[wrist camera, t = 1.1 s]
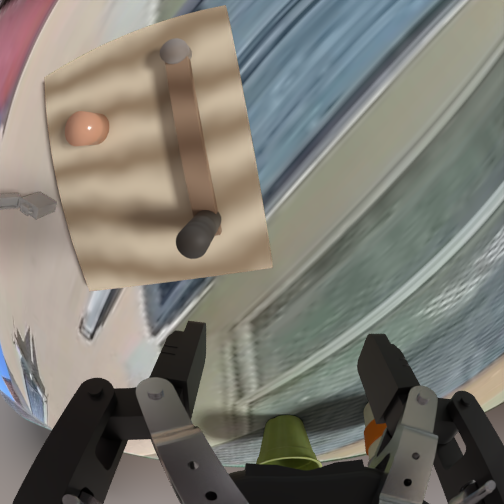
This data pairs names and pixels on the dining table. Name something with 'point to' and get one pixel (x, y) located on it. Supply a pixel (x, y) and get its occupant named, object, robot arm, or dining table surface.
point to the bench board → (155, 157)
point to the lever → (191, 152)
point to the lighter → (29, 204)
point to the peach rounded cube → (86, 128)
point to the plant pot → (287, 444)
